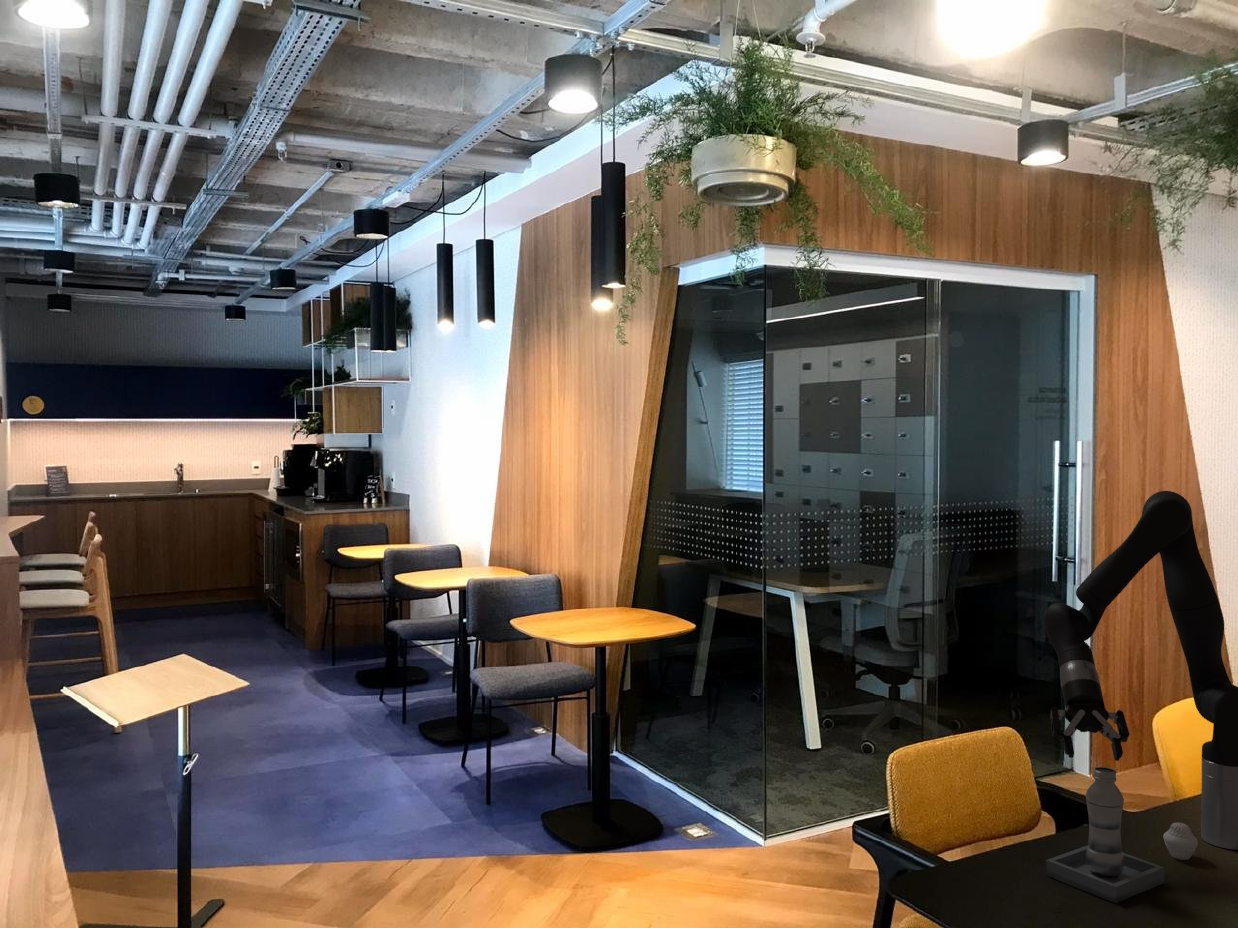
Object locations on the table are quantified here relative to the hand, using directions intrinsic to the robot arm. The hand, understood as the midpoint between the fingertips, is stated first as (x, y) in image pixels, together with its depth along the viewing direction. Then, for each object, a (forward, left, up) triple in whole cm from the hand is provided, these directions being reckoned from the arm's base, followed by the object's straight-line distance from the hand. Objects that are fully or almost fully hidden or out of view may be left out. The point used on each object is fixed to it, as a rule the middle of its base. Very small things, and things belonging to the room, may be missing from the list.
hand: (1094, 757), depth 197 cm
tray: (+6, +6, -21) cm, 23 cm away
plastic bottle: (+6, +6, -20) cm, 22 cm away
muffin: (-17, +8, -21) cm, 28 cm away
